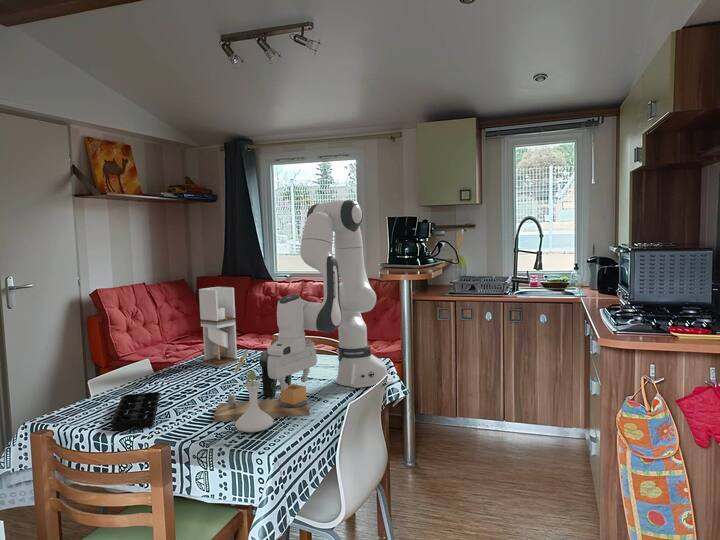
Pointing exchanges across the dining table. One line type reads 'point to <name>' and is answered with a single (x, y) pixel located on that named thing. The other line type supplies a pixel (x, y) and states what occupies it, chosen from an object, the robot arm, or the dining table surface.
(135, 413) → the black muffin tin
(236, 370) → the flower in vase
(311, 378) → the dining table surface
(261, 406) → the base board
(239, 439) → the dining table surface
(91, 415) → the dining table surface
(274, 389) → the green animal figurine
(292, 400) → the orange slotted block
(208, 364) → the white block sculpture
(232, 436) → the dining table surface
